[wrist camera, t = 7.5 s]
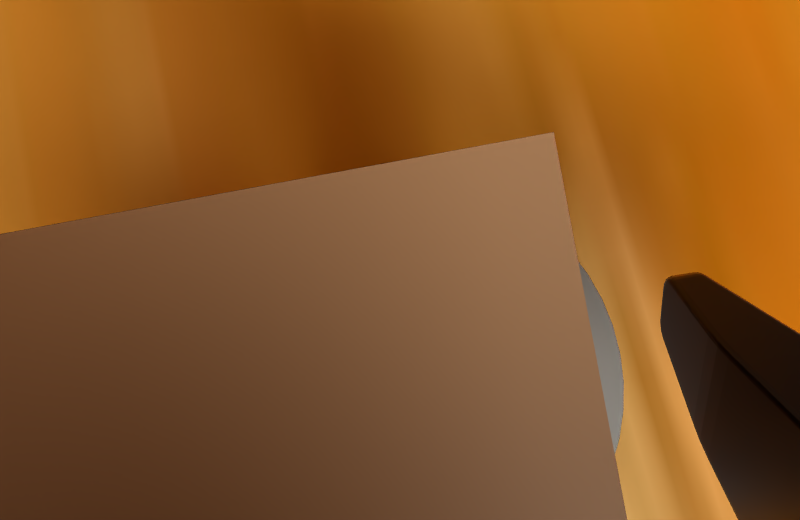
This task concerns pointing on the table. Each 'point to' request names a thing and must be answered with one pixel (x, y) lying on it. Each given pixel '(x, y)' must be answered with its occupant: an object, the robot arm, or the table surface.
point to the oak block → (311, 353)
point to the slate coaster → (605, 356)
